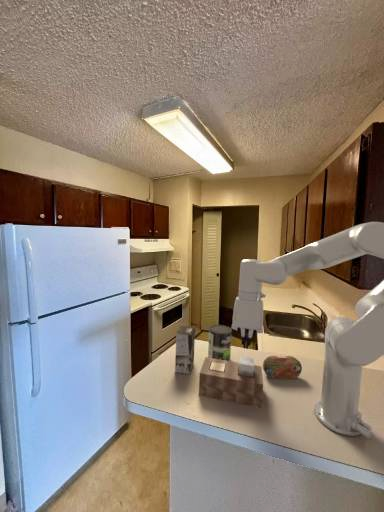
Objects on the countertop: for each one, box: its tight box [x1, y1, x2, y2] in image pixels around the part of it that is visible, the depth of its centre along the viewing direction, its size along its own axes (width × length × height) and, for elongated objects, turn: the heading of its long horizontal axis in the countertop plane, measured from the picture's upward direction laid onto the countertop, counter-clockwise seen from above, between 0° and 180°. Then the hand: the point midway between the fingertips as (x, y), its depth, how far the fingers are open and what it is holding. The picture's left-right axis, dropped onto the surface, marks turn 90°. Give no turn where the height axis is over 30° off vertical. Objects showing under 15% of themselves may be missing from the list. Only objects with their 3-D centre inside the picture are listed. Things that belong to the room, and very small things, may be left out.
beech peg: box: [210, 362, 225, 373], centre depth 83 cm, size 5×5×8 cm
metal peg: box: [238, 356, 255, 378], centre depth 80 cm, size 5×5×8 cm
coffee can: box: [207, 324, 233, 361], centre depth 103 cm, size 10×10×14 cm
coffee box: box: [174, 325, 196, 375], centre depth 95 cm, size 9×6×16 cm
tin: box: [262, 355, 303, 380], centre depth 91 cm, size 15×3×8 cm, turn 92°
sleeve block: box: [198, 356, 264, 409], centre depth 81 cm, size 21×11×8 cm, turn 76°
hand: (245, 346), depth 79 cm, fingers closed
